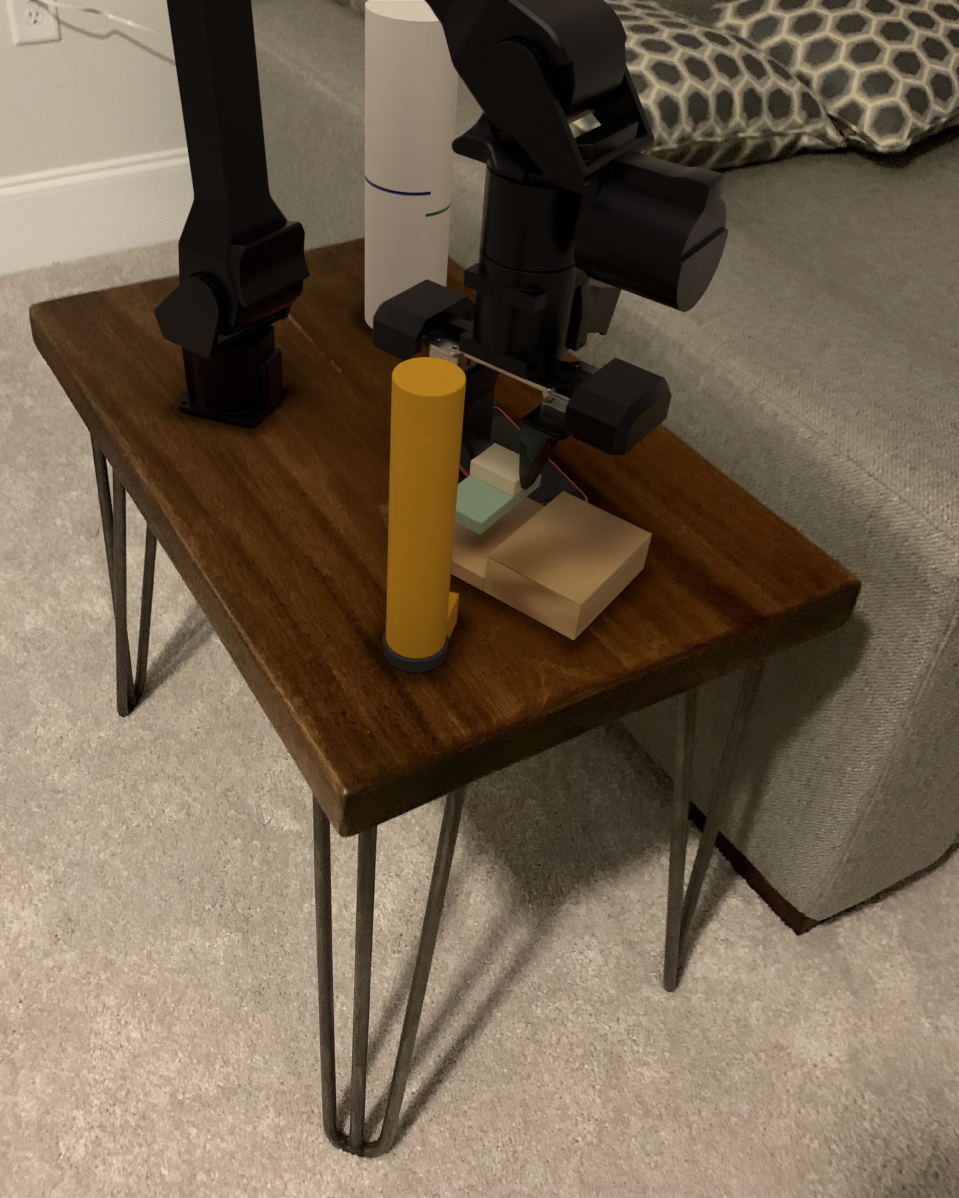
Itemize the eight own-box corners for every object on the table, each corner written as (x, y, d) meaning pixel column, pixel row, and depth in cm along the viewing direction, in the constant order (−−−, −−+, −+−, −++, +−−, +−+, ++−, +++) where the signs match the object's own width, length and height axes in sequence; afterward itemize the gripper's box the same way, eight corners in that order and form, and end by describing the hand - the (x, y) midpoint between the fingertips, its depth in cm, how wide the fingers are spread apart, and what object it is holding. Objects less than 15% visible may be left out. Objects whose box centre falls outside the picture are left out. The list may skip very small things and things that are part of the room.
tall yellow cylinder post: (436, 680, 61) (456, 405, 48) (372, 663, 62) (376, 387, 49) (461, 622, 65) (486, 353, 52) (401, 607, 66) (411, 336, 53)
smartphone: (511, 526, 72) (419, 422, 81) (510, 533, 73) (419, 428, 81) (593, 501, 75) (496, 403, 84) (592, 507, 76) (496, 409, 84)
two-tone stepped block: (480, 535, 66) (483, 508, 65) (435, 512, 68) (437, 485, 66) (540, 486, 71) (544, 459, 69) (497, 465, 72) (499, 438, 70)
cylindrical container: (356, 302, 95) (355, -6, 78) (432, 296, 97) (447, -6, 80) (374, 341, 90) (377, 21, 73) (453, 334, 92) (474, 21, 75)
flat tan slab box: (410, 552, 70) (412, 516, 68) (488, 491, 75) (491, 456, 73) (573, 641, 65) (581, 605, 63) (643, 569, 70) (652, 533, 68)
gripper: (740, 258, 60) (682, 477, 71) (479, 166, 67) (463, 377, 78) (647, 326, 53) (599, 557, 64) (367, 215, 60) (366, 440, 71)
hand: (503, 474), depth 69 cm, fingers closed on two-tone stepped block, 3 cm apart
